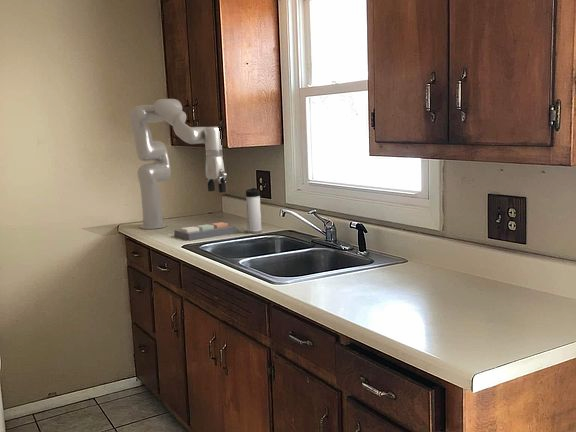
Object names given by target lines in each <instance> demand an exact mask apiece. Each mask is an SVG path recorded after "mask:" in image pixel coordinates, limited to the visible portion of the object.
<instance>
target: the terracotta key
mask: <svg viewBox="0 0 576 432" xmlns="http://www.w3.org/2000/svg"><path fill="white" fill-rule="evenodd" d="M209 225H213V226H214V228H221V227H227V226H228V225H229V223H228V222H222V221H221V222H214V223H210V224H209Z"/></svg>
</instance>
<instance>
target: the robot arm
mask: <svg viewBox="0 0 576 432" xmlns="http://www.w3.org/2000/svg"><path fill="white" fill-rule="evenodd" d="M186 121H187V114H186V112H185V111H183V106H182V103H181V101H180V100H178V99H175V98H159V99H157V100H156V101H155V102H154V103H153V104H141V105H137V106H134V107H133V108H132V110H131V111H130V114H129V124H130V128H131V131H132V134H133V138H134V143H135V145H134V146H135V151H136V154H137V158H138V160H140V161H142V162H149V161H150V162H151V163H145V164H142V165H140V167H138V169H137V174H136V175H137V179H138V183H139V187H140V197H141V209H142V223H143V224H141V225H140V229H142V230H155V229H156V230H157V229H161V228H162V229H163V228H166V227H167V223H165V222H164V221H163V220H164V219H163V205H162V192H161V188H160V186H159V185H158V183H161V182H165V181H168V180H169V179H170V177H171V174H172V173H171V172H172V171H171V164H170V158H169V152H168V148H167V146H166V145H165V143H163V141H161V140H153V135H152V132H151V130H150V128H149V126H148V125H147V123H160V122H161V123H162V122H167V123H168V124H169V125H170V126H172V129H173V131H174V133H175V135H176V136H177V137H178V138H179V139H181V140H182V141H183V142H185V143H187V144H190V145H197V144H204V145H205V172H204V174H205V178H206V182H207V189H208V192H214V191H216V186H215V180H217V182H218V192H219V193H225V192H226V191H227V189H226V184H227V183H226V182H227V175H228V174H227V173H226V172H225V171H226V170H225V165H224V159H223V157H224V155H223V144H222V145H221V139H222V138H221V139H220V131H219V128H218V127H219V126H192V127H191V126H189V125H188V124H186ZM152 161H153V162H152Z"/></svg>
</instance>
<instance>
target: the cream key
mask: <svg viewBox="0 0 576 432" xmlns="http://www.w3.org/2000/svg"><path fill="white" fill-rule="evenodd" d="M180 229H181V231H182V232H186V233H188V232H195V231H199V228H197V227H196V226H188V227H187V226H186V227H181V228H180Z"/></svg>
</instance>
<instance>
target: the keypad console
mask: <svg viewBox="0 0 576 432" xmlns="http://www.w3.org/2000/svg"><path fill="white" fill-rule="evenodd" d="M173 233H174V237H175V238H177V237H178V238H179V239H182V240H185V241H188V240H189V242H190V241H191V242H192V241H195V240H202V239H208V238H215V237H220V236H228V235H233V234H236V233H237V229H236V226H233V225H229V224H228V226H227V227H221V228H214V229H208V230H199V231H195V232H188V233H186V232H182V231H181V228H179V229H174V230H173ZM178 238H177V239H178Z"/></svg>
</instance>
